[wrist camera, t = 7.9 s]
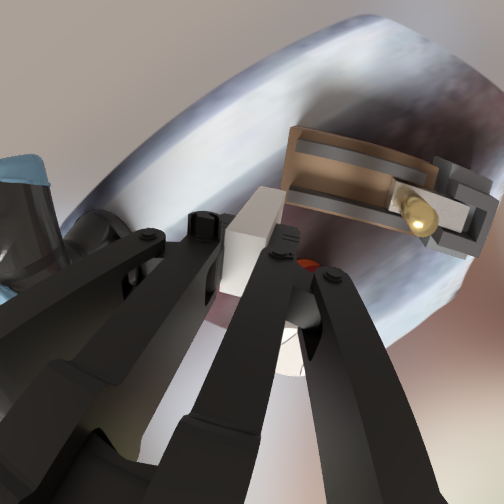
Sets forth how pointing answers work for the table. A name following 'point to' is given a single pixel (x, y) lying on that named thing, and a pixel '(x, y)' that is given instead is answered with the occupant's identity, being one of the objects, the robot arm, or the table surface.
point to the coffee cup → (293, 339)
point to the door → (349, 176)
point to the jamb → (479, 216)
